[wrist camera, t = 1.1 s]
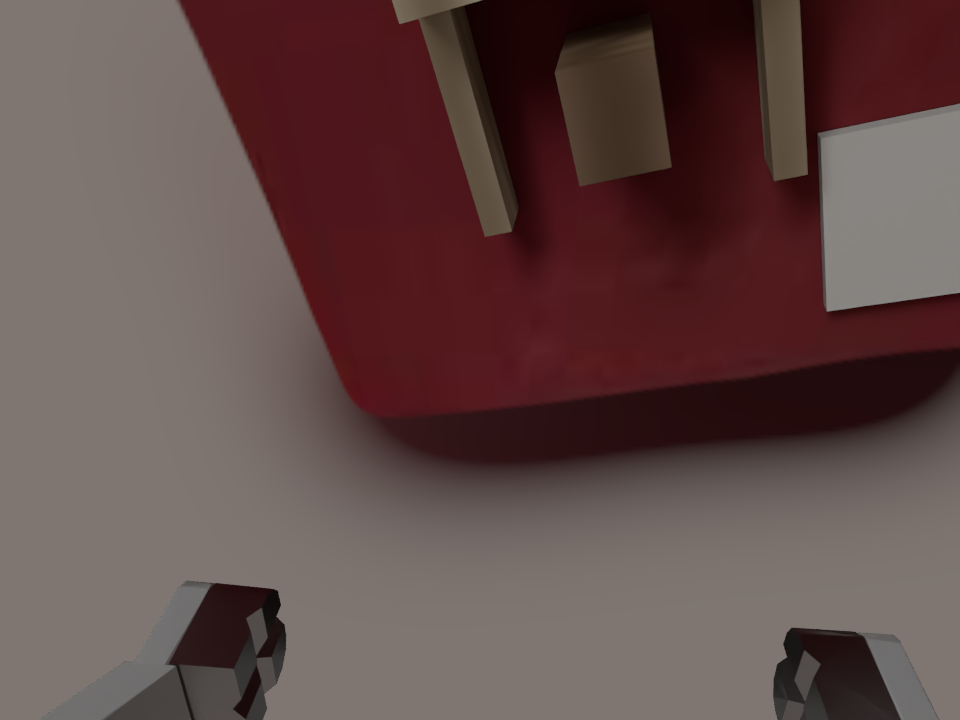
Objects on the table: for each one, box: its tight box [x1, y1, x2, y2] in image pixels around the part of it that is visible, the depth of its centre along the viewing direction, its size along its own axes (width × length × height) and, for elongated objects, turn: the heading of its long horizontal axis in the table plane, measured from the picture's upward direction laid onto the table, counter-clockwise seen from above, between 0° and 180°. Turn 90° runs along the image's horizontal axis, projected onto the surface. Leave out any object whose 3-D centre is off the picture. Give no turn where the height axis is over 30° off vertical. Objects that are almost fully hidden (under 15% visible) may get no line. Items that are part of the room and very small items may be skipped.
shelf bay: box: [392, 0, 808, 237], centre depth 34 cm, size 16×13×6 cm
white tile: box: [817, 104, 960, 311], centre depth 38 cm, size 10×10×1 cm
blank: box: [555, 12, 672, 186], centre depth 34 cm, size 4×5×7 cm
